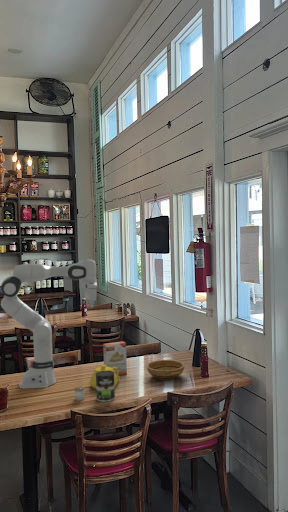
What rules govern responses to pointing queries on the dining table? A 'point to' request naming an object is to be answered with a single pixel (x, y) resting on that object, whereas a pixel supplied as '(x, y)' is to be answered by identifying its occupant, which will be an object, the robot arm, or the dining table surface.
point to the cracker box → (116, 356)
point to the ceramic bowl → (165, 369)
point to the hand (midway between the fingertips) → (90, 306)
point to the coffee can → (105, 386)
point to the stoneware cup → (79, 393)
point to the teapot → (104, 368)
